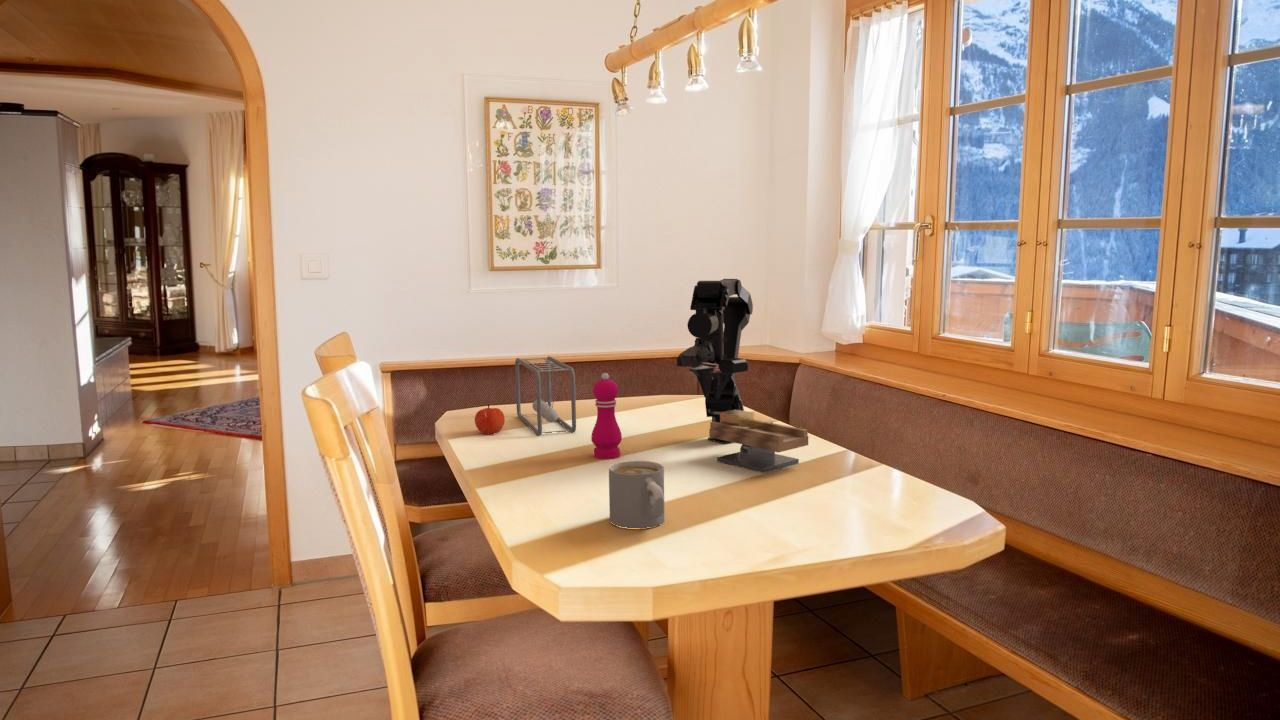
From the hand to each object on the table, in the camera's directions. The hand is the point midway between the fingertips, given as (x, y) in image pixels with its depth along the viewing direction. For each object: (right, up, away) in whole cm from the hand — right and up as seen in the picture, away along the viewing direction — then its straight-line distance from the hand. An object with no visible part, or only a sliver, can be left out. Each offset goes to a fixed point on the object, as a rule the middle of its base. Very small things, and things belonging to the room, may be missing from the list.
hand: (711, 398), depth 207 cm
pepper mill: (-25, -14, -1) cm, 29 cm away
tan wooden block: (+5, -6, -5) cm, 10 cm away
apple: (-58, -11, +26) cm, 64 cm away
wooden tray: (+10, -9, -10) cm, 17 cm away
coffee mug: (-17, -21, -51) cm, 58 cm away
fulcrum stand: (+10, -14, -9) cm, 20 cm away
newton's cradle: (-44, -9, +37) cm, 58 cm away
